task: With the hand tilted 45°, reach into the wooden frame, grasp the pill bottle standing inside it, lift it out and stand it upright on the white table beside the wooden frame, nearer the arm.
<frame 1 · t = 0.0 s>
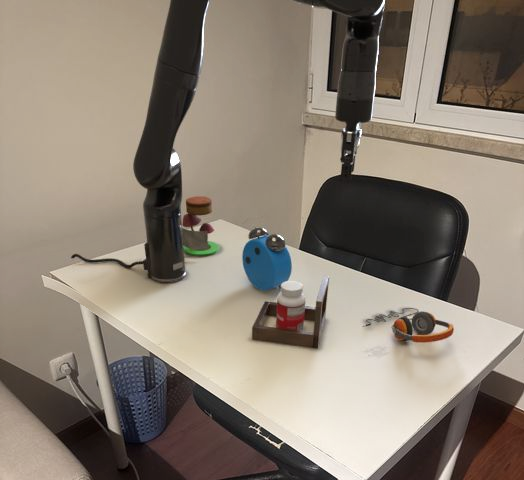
hand: (347, 176, 112), 29 cm above the table, tool pointing down, fingers open, 8 cm apart
headphones: (408, 334, 112), on the table
multicoloured stacked figure: (199, 249, 152), on the table
wooden frame: (289, 329, 113), on the table
alarm clock: (265, 287, 131), on the table
pill bottle: (289, 330, 113), resting in wooden frame
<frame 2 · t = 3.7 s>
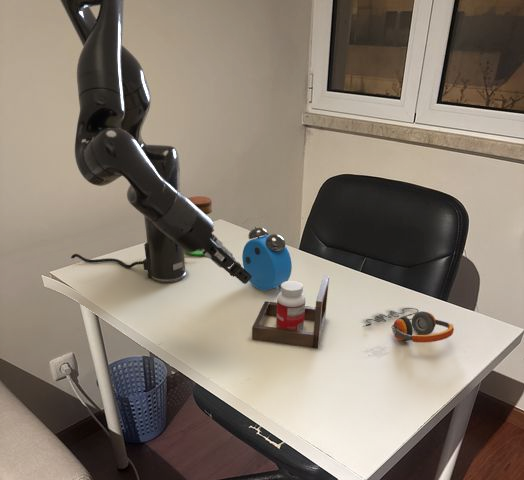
hand: (240, 271, 101), 16 cm above the table, tool tilted 45°, fingers open, 8 cm apart
nothing on the table moved.
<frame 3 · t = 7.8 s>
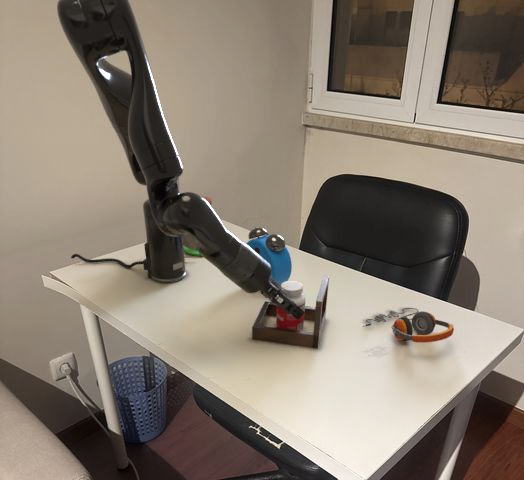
hand: (294, 308, 110), 5 cm above the table, tool tilted 45°, fingers closed on pill bottle, 6 cm apart
pill bottle: (289, 330, 113), resting in wooden frame, touching gripper
everything else where it was.
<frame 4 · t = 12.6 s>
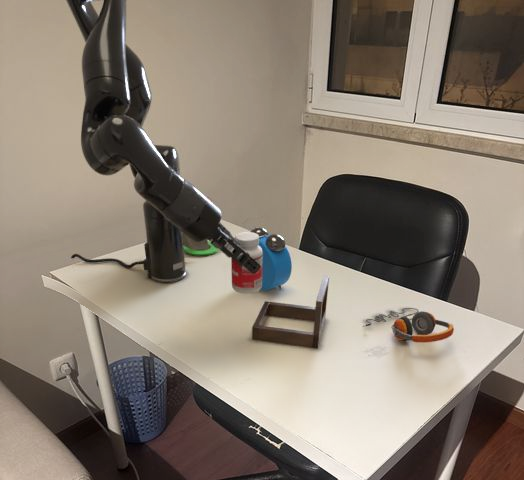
hand: (250, 263, 100), 18 cm above the table, tool tilted 45°, fingers closed on pill bottle, 6 cm apart
pill bottle: (246, 288, 103), point 12 cm above the table, touching gripper
everything else where it was.
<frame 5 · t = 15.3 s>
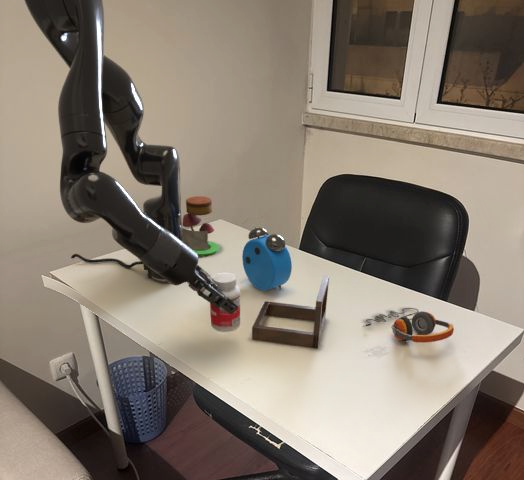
hand: (228, 302, 103), 10 cm above the table, tool tilted 45°, fingers closed on pill bottle, 6 cm apart
pill bottle: (225, 326, 105), point 4 cm above the table, touching gripper
everything else where it was.
when the fingers open (5 cm above the table, at t = 17.2 s): pill bottle stays where it is, on the table.
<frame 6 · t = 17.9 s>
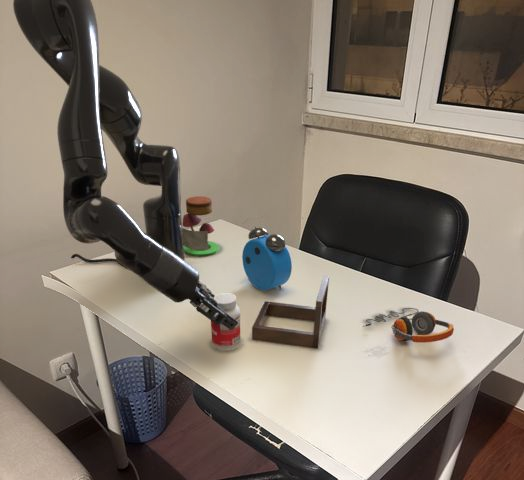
hand: (227, 316, 104), 7 cm above the table, tool tilted 45°, fingers open, 8 cm apart
pill bottle: (226, 344, 108), on the table
everything else where it was.
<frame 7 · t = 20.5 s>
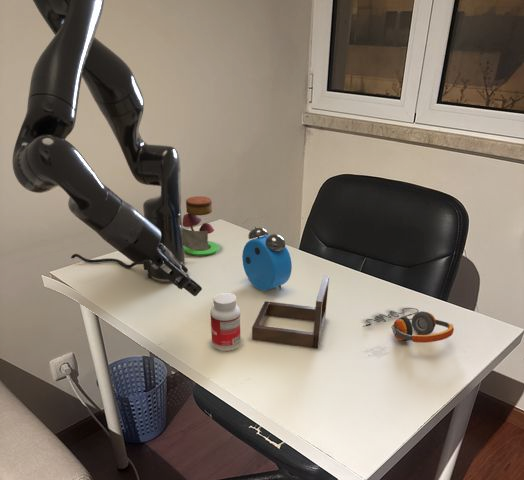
hand: (191, 282, 98), 15 cm above the table, tool tilted 40°, fingers open, 8 cm apart
nothing on the table moved.
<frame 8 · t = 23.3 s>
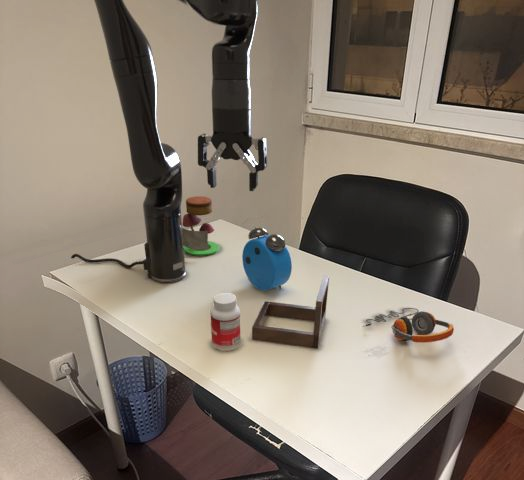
hand: (232, 188, 107), 28 cm above the table, tool pointing down, fingers open, 8 cm apart
nothing on the table moved.
at the end: pill bottle inside the target area (0.2 cm from its centre), on the table; pill bottle tilted 0°; the gripper is holding nothing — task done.
